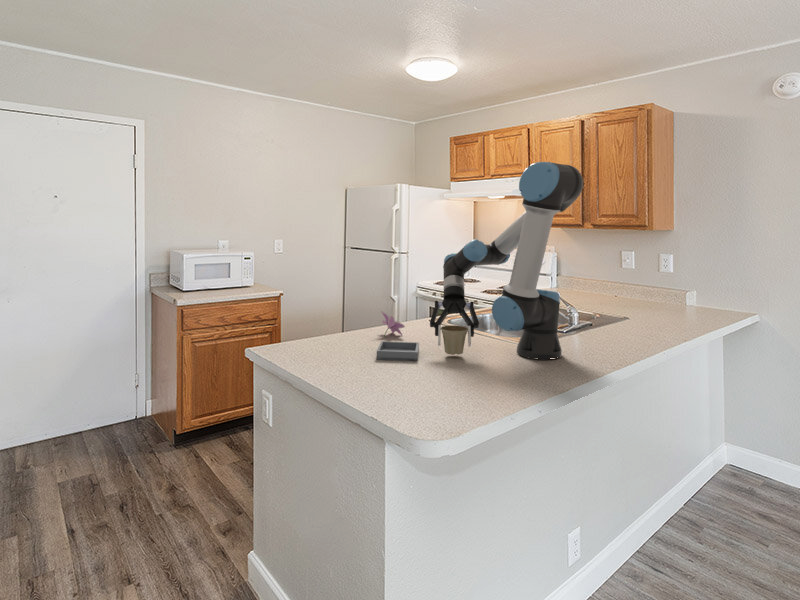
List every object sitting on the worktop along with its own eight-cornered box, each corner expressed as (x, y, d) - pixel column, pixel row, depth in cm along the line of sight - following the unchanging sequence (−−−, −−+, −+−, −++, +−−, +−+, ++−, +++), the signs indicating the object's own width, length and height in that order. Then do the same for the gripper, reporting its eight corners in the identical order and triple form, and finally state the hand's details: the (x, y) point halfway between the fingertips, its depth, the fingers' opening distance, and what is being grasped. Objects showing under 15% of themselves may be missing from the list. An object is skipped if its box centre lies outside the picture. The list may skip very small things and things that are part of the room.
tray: (418, 350, 180) (419, 342, 179) (417, 361, 166) (417, 352, 166) (381, 349, 180) (381, 341, 180) (376, 359, 167) (376, 350, 167)
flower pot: (466, 357, 166) (467, 331, 165) (438, 355, 168) (438, 330, 167) (468, 350, 175) (469, 326, 174) (441, 348, 177) (442, 324, 176)
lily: (405, 342, 197) (412, 319, 199) (378, 331, 193) (385, 308, 196) (395, 344, 208) (401, 323, 210) (369, 334, 205) (376, 313, 207)
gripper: (483, 297, 184) (486, 350, 170) (423, 296, 185) (421, 348, 172) (485, 284, 178) (488, 338, 164) (423, 283, 179) (421, 337, 166)
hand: (454, 343), depth 168 cm, fingers closed on flower pot, 9 cm apart
